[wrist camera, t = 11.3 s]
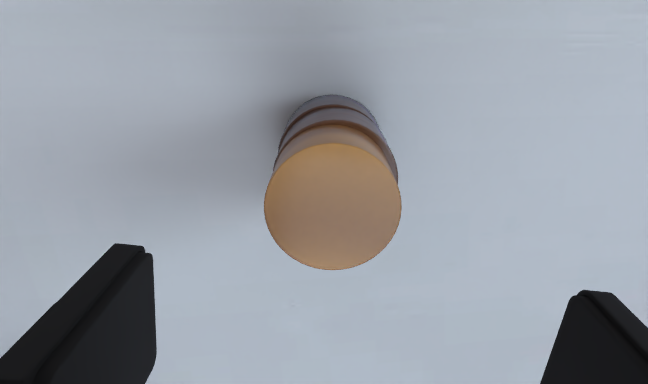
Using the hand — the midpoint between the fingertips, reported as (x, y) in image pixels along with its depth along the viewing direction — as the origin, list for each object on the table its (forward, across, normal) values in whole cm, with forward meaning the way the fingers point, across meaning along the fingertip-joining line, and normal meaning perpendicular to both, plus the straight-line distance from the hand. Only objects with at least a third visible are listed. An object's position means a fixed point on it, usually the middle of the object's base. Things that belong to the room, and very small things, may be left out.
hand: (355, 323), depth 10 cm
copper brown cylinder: (+10, 0, 0) cm, 11 cm away
